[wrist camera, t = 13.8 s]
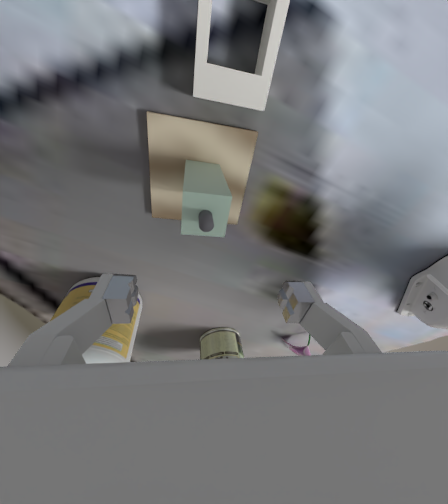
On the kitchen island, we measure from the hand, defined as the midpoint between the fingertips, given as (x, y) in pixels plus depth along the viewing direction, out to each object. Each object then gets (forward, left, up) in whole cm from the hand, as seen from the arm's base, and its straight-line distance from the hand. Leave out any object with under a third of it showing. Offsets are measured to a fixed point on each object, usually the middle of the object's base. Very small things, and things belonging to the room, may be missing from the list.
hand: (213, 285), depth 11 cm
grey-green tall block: (0, 0, -18) cm, 18 cm away
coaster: (0, 0, -19) cm, 19 cm away
